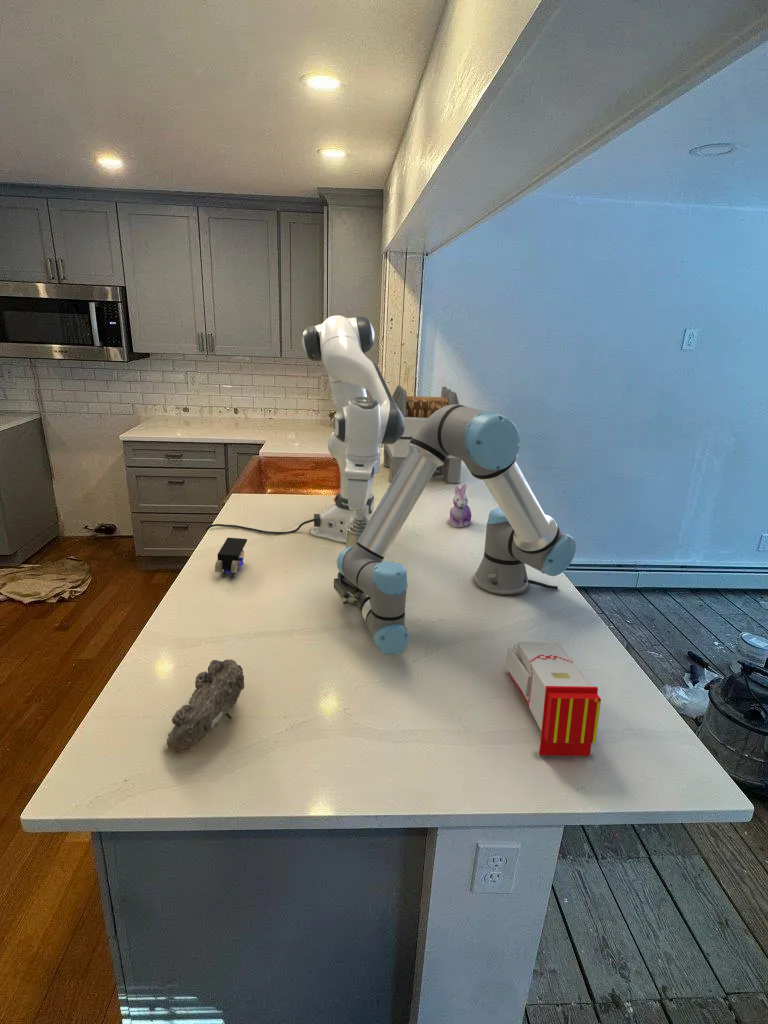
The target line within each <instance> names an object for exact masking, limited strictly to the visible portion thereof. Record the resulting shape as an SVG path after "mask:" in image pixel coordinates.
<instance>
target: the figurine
mask: <svg viewBox="0 0 768 1024" xmlns="http://www.w3.org/2000/svg"><path fill="white" fill-rule="evenodd" d="M453 488H454V496H453V498H452V503H453V506H452V507H451V508H450V511H449V518H448V519H449V520H448V523H449V524H450V525H451V527H454V528H464V527H468V526H469V525H470V524H471V520H472V511H471V508H470V506H469V505H468V503H469V499H468V497H467V495H466V490H467V484H465V483H464V484H463V485H462V486H461V488H459V486H458V485H457V484H454V487H453Z"/></svg>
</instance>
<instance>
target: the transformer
mask: <svg viewBox="0 0 768 1024" xmlns="http://www.w3.org/2000/svg"><path fill="white" fill-rule="evenodd" d="M440 393H441V394H440V396H415V395H414V396H413V395H412V396H411V395H407V394H408V393H407V390H406V389H404V388H403V387H402V385H399V384H398V385H397V386H396V388H395V390H394V392H393V394H392V395H391V396H392V398H393V400H394V402H395V404H396V405H397V407H398V408H399V410H400V411H401V413H402V415H403V418H404V424H405V429H404V433H403V435H402V436H401V438H400V439H399V440H398V441H396V442H395V443H394V444H383V466H384V467H388V468H389V475H388V476H389V477H388V478H389V480H390V483H391V482H392V481H393V479H394V477H395V475H396V474H397V472H398V470H399V469H400V467H401V465H402V463H403V462H404V460H405V458H406V456H407V455H408V453H409V446H408V445H409V443H410V441H411V439H412V438H413V436H414V435H415V433H416V432H417V430H418V429H419V427H420V426H421V425H422V424H423V423H424V421H425V420H426V419H427V418H428V417H429V416H431V415H432V414H433V413H434V412H436V411H437V410H439V409H440V408H442V407H445V406H448V405H453V404H458V405H460V402H459V398H458V395H457V392H455V391H453V390H452V389H451V388H447V386H442V387H441V392H440ZM462 462H463V461H462V460H461V459H460V458H457V457H454V456H451V455H450V456H449V457H448V458H447V459H446V461H445V463H444V464H443V465H442V466H438V467H437V468H436V469H437V470H438V469H439V473H440V474H441V475H443V478H444V479H445V481H446V482H447V483H449V484H455V483H456V484H459V483H461V472H462Z"/></svg>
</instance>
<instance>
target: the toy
mask: <svg viewBox="0 0 768 1024" xmlns="http://www.w3.org/2000/svg"><path fill="white" fill-rule="evenodd" d="M511 646H512V647H508V648H507V653H506V658H505V659H506V660H505V668H506V669H507V671H508V675H509V676H510V677H511V679H512V681H513V682H514V684H515V686H516V688H517V689H518V691H519V693H520V694H521V696H522V698H523V700H524V702H525V703H526V705H527V706H528V708H529V710H530V712H531V715H532V716H533V718H534V720H535V722H536V723H537V724H536V725H537V726H538V727H539V730H540V731H541V733H540V739H539V740H540V741H539V749H538V751H539V752H538V754H539V756H543V757H548V756H550V757H551V756H552V757H553V756H554V757H568V756H569V757H591V751H592V744H596V743H597V734H598V726H599V717H600V710H601V702H602V698H601V697H600V696H599V694H598V693H599V688H598V686H592V684H590V682H589V681H588V680H587V678H586V677H585V676H584V675H583V673H582V672H581V671H580V669H579V668H578V667H577V665H576V664H575V663H574V661H573V660H572V659H571V658H570V656H569V655H568V654H567V652H566V651H565V649H564V647H562V645H561V644H560V643H559V642H553V641H551V642H549V641H548V642H547V641H546V642H545V641H517V642H512V645H511Z"/></svg>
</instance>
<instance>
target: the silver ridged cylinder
mask: <svg viewBox="0 0 768 1024" xmlns="http://www.w3.org/2000/svg"><path fill="white" fill-rule="evenodd" d="M368 522H369V521H368V519H367V518H366V517H363V519H362V520H357V519H356V518H355V519H354V520H353V521H352V522H351V523H350V524H349V525H348V526H347V529H346V543H345V549H346V548H347V547H354V546H355V544H356V543H357V541H358V539H359V538H360V536H361V534H362V532H363V531H364V529H365V527H366V525H367V524H368ZM350 595H351V596H354V595H352V594H351V593H350ZM349 603H351V604H353V605H357V604H356V603H354V601H350V602H349Z"/></svg>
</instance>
